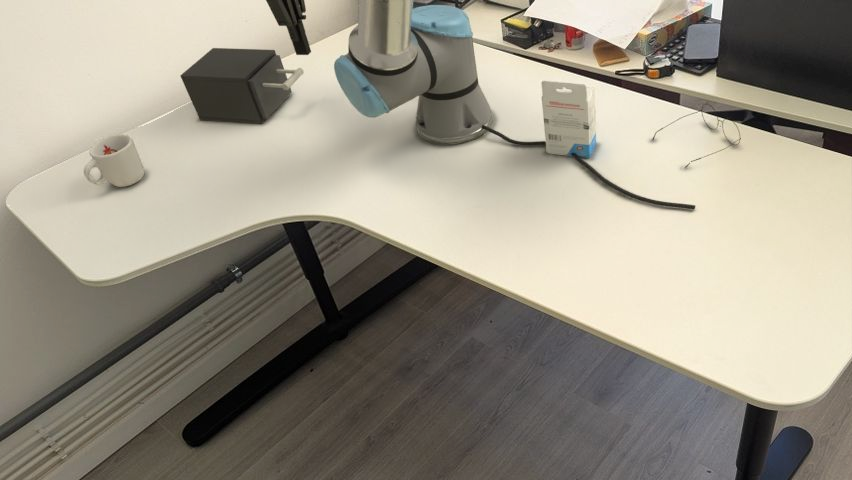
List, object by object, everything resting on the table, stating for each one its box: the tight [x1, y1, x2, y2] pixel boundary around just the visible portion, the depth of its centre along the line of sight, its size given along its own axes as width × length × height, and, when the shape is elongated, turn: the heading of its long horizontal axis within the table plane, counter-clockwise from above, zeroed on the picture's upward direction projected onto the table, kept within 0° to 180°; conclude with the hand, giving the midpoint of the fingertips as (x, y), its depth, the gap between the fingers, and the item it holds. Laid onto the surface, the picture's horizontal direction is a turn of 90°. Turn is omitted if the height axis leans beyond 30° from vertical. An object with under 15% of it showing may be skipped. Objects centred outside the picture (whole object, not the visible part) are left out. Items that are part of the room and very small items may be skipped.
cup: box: [83, 133, 145, 188], centre depth 140 cm, size 11×8×8 cm
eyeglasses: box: [651, 103, 742, 169], centre depth 129 cm, size 11×13×5 cm
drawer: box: [248, 54, 305, 120], centre depth 155 cm, size 21×11×9 cm, turn 74°
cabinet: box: [180, 47, 277, 125], centre depth 157 cm, size 16×13×11 cm
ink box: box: [541, 80, 597, 159], centre depth 129 cm, size 9×5×15 cm, turn 68°
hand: (303, 53), depth 149 cm, fingers closed
